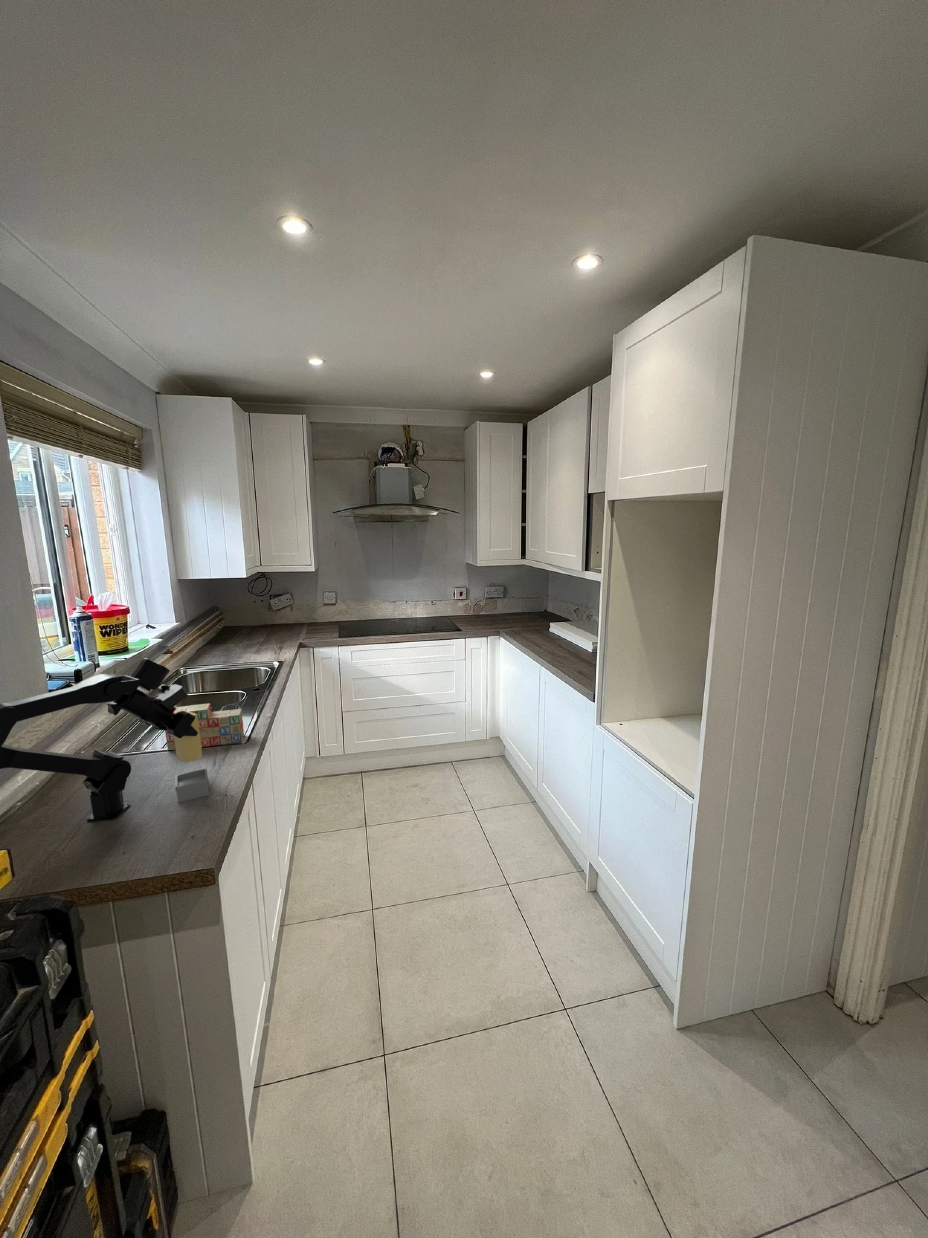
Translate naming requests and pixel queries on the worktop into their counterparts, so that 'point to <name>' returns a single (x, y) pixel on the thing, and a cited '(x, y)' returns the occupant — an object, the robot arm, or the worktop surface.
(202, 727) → the stack of blocks
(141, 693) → the robot arm
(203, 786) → the base tray
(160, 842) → the worktop surface
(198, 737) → the mustard brick
